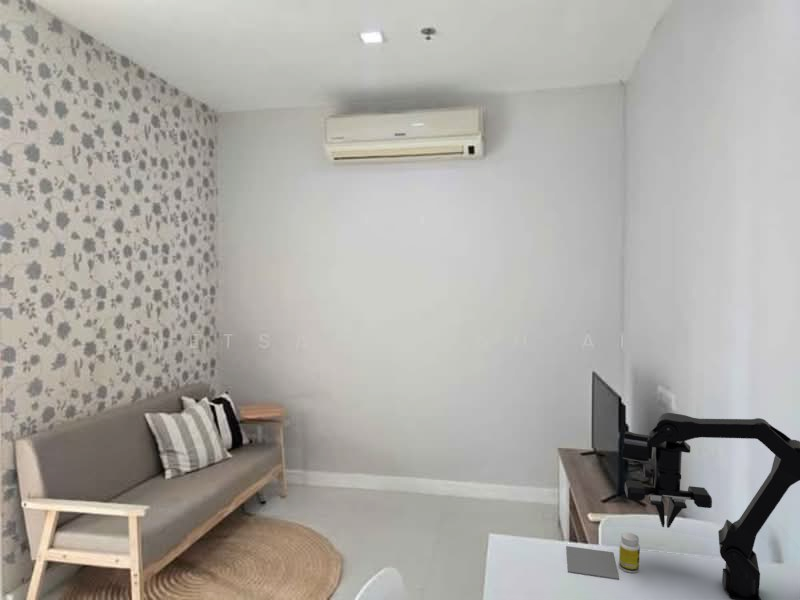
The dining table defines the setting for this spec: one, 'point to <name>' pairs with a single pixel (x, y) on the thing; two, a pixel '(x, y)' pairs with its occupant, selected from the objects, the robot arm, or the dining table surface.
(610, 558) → the mat
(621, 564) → the supplement bottle
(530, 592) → the dining table surface
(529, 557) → the dining table surface
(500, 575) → the dining table surface
